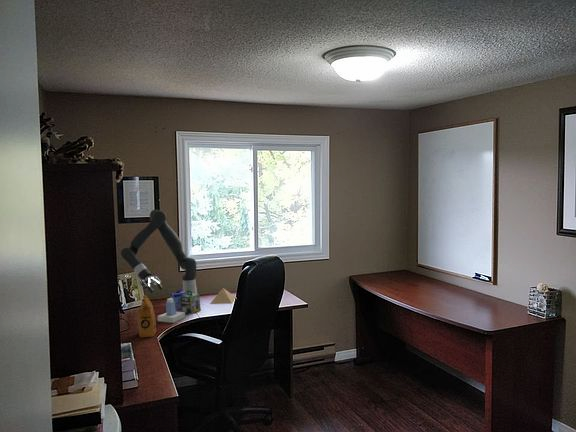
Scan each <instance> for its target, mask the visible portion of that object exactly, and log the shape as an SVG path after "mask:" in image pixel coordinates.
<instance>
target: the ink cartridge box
mask: <svg viewBox="0 0 576 432" xmlns="http://www.w3.org/2000/svg"><path fill="white" fill-rule="evenodd" d="M183 295H186V292H184V291H183V290H182V289H177V290H176V292H171V293H170V294H169V297H170V298H173V300H174V301H175V310H176V312H182V305H181V296H183Z"/></svg>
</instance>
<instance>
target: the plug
mask: <svg viewBox="0 0 576 432" xmlns="http://www.w3.org/2000/svg"><path fill="white" fill-rule="evenodd" d="M165 311H166V312H165V313H167V315H169V316H173V315H175V314H176V310H175V301H174V300H173V298H167V299H166V302H165Z"/></svg>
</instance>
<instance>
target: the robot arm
mask: <svg viewBox="0 0 576 432" xmlns="http://www.w3.org/2000/svg"><path fill="white" fill-rule="evenodd" d="M149 219H150V222H149V223H148V224H147V225H146V226H145V227H144V228H143V229H141V230H140V231H139V232H138V233H137V234H136V235H135V236H134V237H133V239H132V240H131V241H130V246H129V247H123V248H122V249H121V251H120V255H121V257H122V258H123V260H125V262H126V263H127V264H128V265H129V266H130V267H131V269H132V271H134V273H135V274H136V276H137V277H138V278H139V280H140V281H139V284H140V285H141V287H142V288H143V289H144V290H148V291H149V292H150V293H152V294H153V293H154V291H155V290H154V289H153V288H152V286H151V285H155V286H157V287H158V289H159V290H160V291H162V290H163V289H164V288H163V285H162V284H161V283H162V280H161V279H160V278H159V277H158V276H157V275H154V276H152V272H151V271H150V270H149V269H148V267H147V266H146V265H145V264H143V262H142V261H141V259H139V258H138V257H137V256H136V255H137V254H138V252H139V250H140V248H141V247H142V245H143V244H144V243H145V242H146V241H147V240H148V239H149V237H150V236H151V235H152V234H153V233H154V232H155V231H156V230H158V231H159V234H160V235H161V237H162V238H163V240H164V243H165V244H166V245H167V246H168V248H169V250H170V251H171V253H172V255H173V256H174V257H175V259H176V262H177V263H178V265H179V267H180V269H182V270H185V274H184V275H182V289H183V290H182V291H184V292H186V294H187V291H186V290H189V291H191V292H192V293H194V294H198V288H197V282H196V281H197V279H196V277H197V261H196V260H195V259H194V258H193V257H188V256H187V255H186V254H185V252H184V250H183V245H182V241H181V239H180V237H179V236H178V234H177V233H176V232H175V231H174V230H173V228H172V227H171V226H170V225H169V223H168V222H167V221H166V220H167V214H166V213H165V212H164V211H162V210H160V209H152V210H151V211H150V213H149ZM188 293H189V294H190V292H188Z"/></svg>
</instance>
